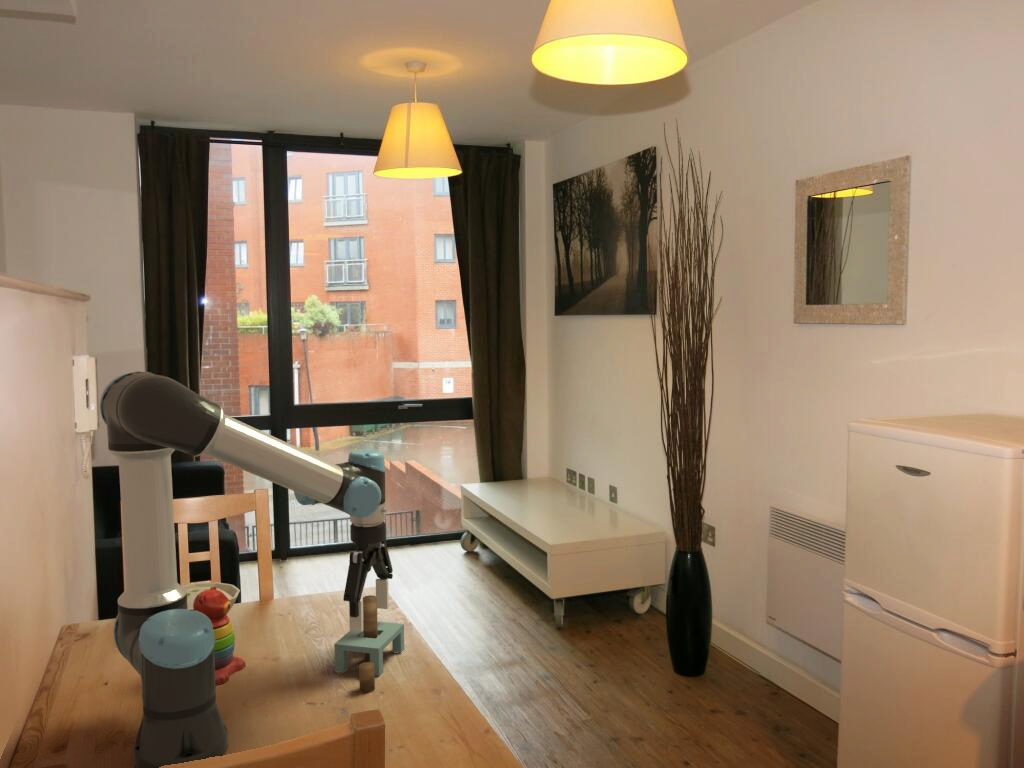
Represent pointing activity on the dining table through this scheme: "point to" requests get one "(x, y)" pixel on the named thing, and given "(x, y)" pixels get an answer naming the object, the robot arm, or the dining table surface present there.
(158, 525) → the robot arm
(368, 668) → the short pin
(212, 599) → the stacking bear
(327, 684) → the dining table surface
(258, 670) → the dining table surface
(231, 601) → the bowl
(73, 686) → the dining table surface
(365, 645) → the green stand with hole
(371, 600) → the long pin
